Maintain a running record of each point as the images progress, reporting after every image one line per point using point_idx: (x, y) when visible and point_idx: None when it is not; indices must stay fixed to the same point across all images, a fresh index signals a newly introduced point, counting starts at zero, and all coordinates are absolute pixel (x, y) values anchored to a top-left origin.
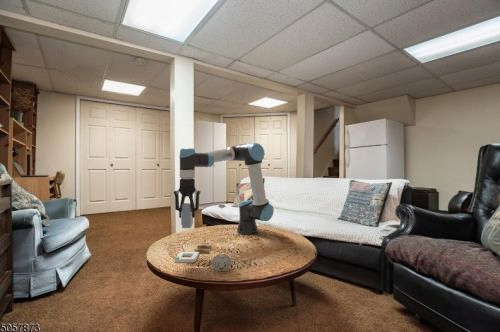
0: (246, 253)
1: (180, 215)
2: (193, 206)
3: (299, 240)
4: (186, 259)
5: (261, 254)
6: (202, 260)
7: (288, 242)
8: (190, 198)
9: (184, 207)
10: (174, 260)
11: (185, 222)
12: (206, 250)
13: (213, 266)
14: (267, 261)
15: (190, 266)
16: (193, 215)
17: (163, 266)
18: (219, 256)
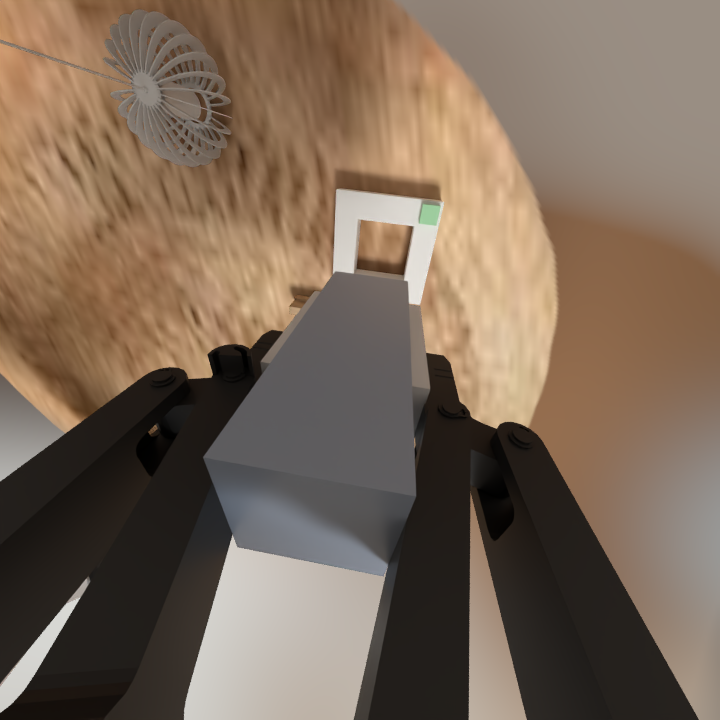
0: (153, 294)
1: (434, 369)
2: (187, 431)
3: (27, 385)
4: (379, 194)
5: (92, 275)
6: (313, 236)
7: (53, 375)
8: (62, 704)
9: (361, 418)
10: (442, 201)
11: (371, 295)
12: (302, 306)
13: (213, 62)
14: (32, 189)
15: (357, 159)
16: (266, 344)
17: (495, 174)
18: (154, 76)
